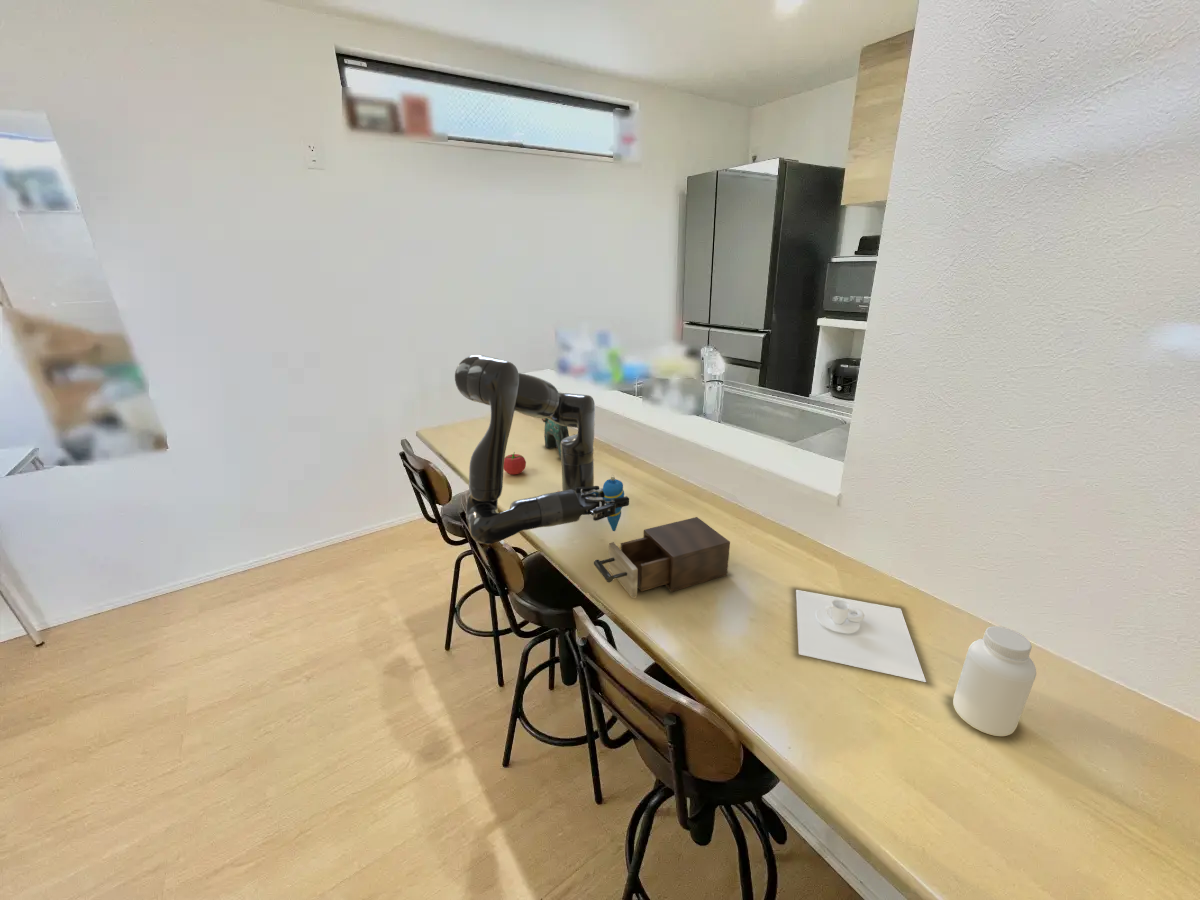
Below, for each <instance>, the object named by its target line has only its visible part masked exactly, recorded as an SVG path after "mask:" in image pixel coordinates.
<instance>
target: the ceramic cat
mask: <svg viewBox="0 0 1200 900" xmlns="http://www.w3.org/2000/svg"><path fill="white" fill-rule="evenodd" d="M541 421H542V422H543V423H544V430H543V431H544V434H543V436H544V438H543V439H544V447H545V448H547V449H554V448H557V446H556V442H557V445H558V449H557V451H558V457H559V460H560V461H561V441H562V440H563V439H564V438H566V437H568V436H570V433H569V427H567V426H562V425H559V424H557V423H555V422H553V421H551V420H549V419H547V418H545V419H541Z"/></svg>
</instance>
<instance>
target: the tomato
mask: <svg viewBox="0 0 1200 900" xmlns="http://www.w3.org/2000/svg"><path fill="white" fill-rule="evenodd" d="M526 465H527V461H526V458H525V457H524V456H523V455H521V454H519V453H518V454H517V453H516V452H515V451H514V452H513V453H512V454H508V455H505V459H504V472H506V473H507V474H508V475H520V474H521V473H523V471H524V470H525V469H526Z"/></svg>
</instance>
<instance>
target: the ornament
mask: <svg viewBox="0 0 1200 900" xmlns="http://www.w3.org/2000/svg"><path fill="white" fill-rule="evenodd" d="M602 488H603V492H604V495H605V496H604V498H605V499H615V498H621V497H625V491H624V484H623V481H621V480H619V479H616V477H615V476H613V475H611V476H610V478H609V479H607V480H605V481H604V483H603V485H602ZM607 504H610V503H605V505H607ZM622 509H623V507H619V508H616V509H615V514H614V515H611V516H608V517H606V518H607V522H608V524H609V526H610V528H611V531H612V532H616V531H617V527H618V525H619V522H620V519H621V517H622ZM608 512H609V511H608Z"/></svg>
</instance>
